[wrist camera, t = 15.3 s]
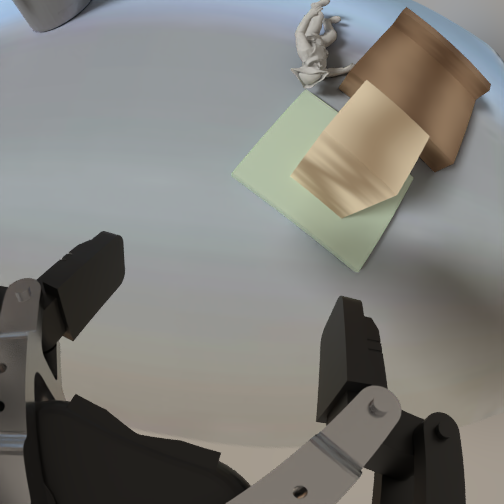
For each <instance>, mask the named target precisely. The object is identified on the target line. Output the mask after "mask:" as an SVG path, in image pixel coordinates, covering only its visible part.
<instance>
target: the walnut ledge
mask: <svg viewBox="0 0 504 504" xmlns="http://www.w3.org/2000/svg"><path fill="white" fill-rule="evenodd" d="M366 80H367V81H369V82H370V83H371V84H372V85H374V86H375V87H376V88H377V89H379V90H380V91H381V92H382V93H383V94H385V95H386V96H387V97H388V98H389V99H390V100H392V101H393V102H394V103H395V104H396V105H397V106H398V107H399V108H401V109H402V110H403V111H404V112H405V113H406V114H407V115H408V116H409V117H410V118H411V119H412V120H414V121H415V122H416V123H417V124H418V125H419V126H420V127H421V128H422V129H423V130H424V131H425V132H426V133H427V134H428V135H429V136H430V137H429V139H428V141H427V143H426V145H425V146H424V148H423V150H422V152H421V154H420V156H419V157H420V158H421V159H422V160H423V161H424V162H425V163H426V164H427V165H428V166H429V167H430V168H431V169H432V170H433V171H434V172H436V171H439V170H441V169H443V168H445V167H447V166H450V165H452V164H454V161H455V159H456V156H457V153H458V151H459V148H460V145H461V143H462V140H463V137H464V134H465V132H466V129H467V126H468V123H469V120H470V117H471V114H472V110H473V107H474V104H475V101H476V99H477V98H479V97H481V96H482V95H484V94H485V93H487V92H488V91H489V90H490V85H491V84H490V83H489V82H488V80H487V79H486V78H485V77H484V76H483V75H482V74H481V73H480V72H479V71H478V70H477V68H476V67H475V66H474V65H473V64H472V63H471V62H470V61H469V60H468V59H467V58H466V57H465V56H464V55H463V54H462V53H461V52H460V51H459V50H458V49H456V48H455V47H454V46H453V45H452V44H451V43H450V42H449V41H448V40H447V39H446V38H444V37H443V36H442V35H441V34H440V33H439V32H437V31H436V30H435V29H434V28H433V27H431V26H430V25H429V24H428V23H427V22H425V21H424V20H423V19H422V18H420V17H419V16H418V15H416V14H415V13H414V12H412V11H411V10H410V9H408V8H407V7H406V8H405V9H404V10H403V11H402V12H401V14H400V15H399V16H398V18H397V19H396V21H395V22H394V23H393V25H392V26H391V27H390V28H389V29H388V30H387V31H386V32H385V33H384V34H383V35H382V36H381V37H380V38H379V40H378V41H377V42H376V43H375V44H374V45H373V46H372V47H371V48H370V49H369V50H368V51H367V53H366V54H365V55H364V56H363V57H362V58H361V59H360V60H359V61H358V62H357V64H356V65H355V66H354V67H353V68H352V69H351V70H350V71H349V73H348V74H347V76H346V77H345V79H344V81H343V82H342V84H341V85H340V87H339V88H338V89H340V90H341V91H342V92H344V93H345V94H346V95H348V96H349V97H350V98H351V97H352V96H353V95H354V94H355V93H356V91H357V90H358V89H359V88H360V87H361V86H362V84H363V83H364V82H365V81H366Z"/></svg>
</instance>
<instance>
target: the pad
mask: <svg viewBox="0 0 504 504" xmlns="http://www.w3.org/2000/svg"><path fill="white" fill-rule="evenodd" d="M337 114H338V112H337V111H335V110H334V109H333V108H331V107H330V106H329V105H327V104H326V103H324V102H323V101H322V100H320V99H319V98H317V97H316V96H315V95H313V94H312V93H310V92H309V91H307V90H306V89H305V90H304V91H303V93H302V94H301V95H300V96H299V97H298V98H297V99H296V100H295V101H294V102H293V103H292V104H291V106H290V107H289V108H288V109H287V110H286V111H285V112H284V113H283V114H282V115H281V117H280V118H279V119H278V120H277V121H276V122H275V123H274V124H273V125H272V127H271V128H270V129H269V130H268V131H267V132H266V133H265V135H264V136H263V137H262V138H261V139H260V140H259V141H258V143H257V144H256V145H255V146H254V147H253V148H252V150H251V151H250V152H249V153H248V154H247V155H246V157H245V158H244V159H243V160H242V161H241V163H240V164H239V165H238V166H237V167H236V169H235V170H234V171H233V172H232V175H231V176H232V177H233V178H234V179H236V180H237V181H238V182H240V183H241V184H243V185H244V186H245V187H247V188H248V189H249V190H251V191H252V192H253V193H255V194H256V195H257V196H259V197H260V198H261V199H263V200H264V201H265V202H267V203H268V204H269V205H271V206H272V207H273V208H275V209H276V210H277V211H278V212H280V213H281V214H282V215H284V216H285V217H286V218H288V219H289V220H290V221H291V222H293V223H294V224H295V225H297V226H298V227H299V228H300V229H302V230H303V231H304V232H306V233H307V234H308V235H309V236H311V237H312V238H313V239H314V240H316V241H317V242H318V243H319V244H321V245H322V246H323V247H324V248H326V249H327V250H328V251H329V252H331V253H332V254H333V255H334V256H336V257H337V258H338V259H339V260H340V261H342V262H343V263H344V264H345V265H347V266H348V267H349V268H350V269H351V270H353V271H354V272H359V271H360V269H361V268H362V266H363V265H364V263H365V261H366V260H367V258H368V257H369V255H370V253H371V252H372V250H373V249H374V247H375V245H376V244H377V242H378V240H379V239H380V237H381V235H382V234H383V232H384V230H385V229H386V227H387V225H388V224H389V222H390V220H391V218H392V217H393V215H394V213H395V211H396V210H397V208H398V206H399V204H400V203H401V201H402V199H403V197H404V195H405V193H406V192H407V190H408V188H409V186H410V184H411V182H412V180H413V177H412V176H411V175H410V174H409V175H408V177H407V179H406V181H405V182H404V184H403V186H402V188H401V189H400V191H399V193H398V194H397V195H396V196H394V197H391V198H389V199H387V200H384V201H382V202H380V203H377V204H375V205H372V206H370V207H368V208H365V209H363V210H361V211H358V212H356V213H354V214H351V215H349V216H346V217H344V218H342V219H341V218H340V217H339V216H338V215H337V214H335V213H334V212H333V211H332V210H331V209H330V208H328V207H327V206H326V205H325V204H324V203H322V202H321V201H320V200H319V199H318V198H316V197H315V196H314V195H313V194H312V193H310V192H309V191H308V190H307V189H305V188H304V187H303V186H302V185H301V184H299V183H298V182H297V181H295V180H294V179H293V178H292V177H290V175H291V174H292V173H293V171H294V170H295V169H296V167H297V166H298V164H299V163H300V162H301V160H302V159H303V158H304V156H305V155H306V153H307V152H308V151H309V149H310V148H311V147H312V145H313V144H314V143H315V141H316V140H317V138H318V137H319V136H320V134H321V133H322V132H323V130H324V129H325V128H326V127H327V126H328V124H329V123H330V122H331V121H332V120H333V118H334V117H335V116H336V115H337Z"/></svg>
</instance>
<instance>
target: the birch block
mask: <svg viewBox="0 0 504 504" xmlns="http://www.w3.org/2000/svg"><path fill="white" fill-rule="evenodd" d="M429 137H430V136H429V135H428V134H427V133H426V132H425V131H424V130H423V129H422V128H421V127H420V126H419V125H418V124H417V123H416V122H415V121H414V120H412V119H411V118H410V117H409V116H408V115H407V114H406V113H405V112H404V111H403V110H402V109H401V108H399V107H398V106H397V105H396V104H395V103H394V102H393V101H392V100H390V99H389V98H388V97H387V96H386V95H385V94H383V93H382V92H381V91H380V90H379V89H377V88H376V87H375V86H374V85H372V84H371V83H370V82H369V81H367V80H366V81H365V82H364V83H363V84H362V86H361V87H360V88H359V89H358V90H357V91H356V93H355V94H354V95H353V96H352V97H351V98H350V100H349V101H348V102H347V103H346V104H345V105H344V107H343V108H342V109H341V110H340V111H339V113H338V114H337V115H336V116H335V117H334V118H333V120H332V121H331V122H330V123H329V124H328V126H327V127H326V128H325V129H324V130H323V132H322V133H321V134H320V136H319V137H318V138H317V140H316V141H315V143H314V144H313V145H312V147H311V148H310V149H309V151H308V152H307V153H306V155H305V156H304V158H303V159H302V160H301V162H300V163H299V164H298V166H297V167H296V169H295V170H294V171H293V173H292V174H291V175H290V177H292V178H293V179H294V180H295V181H297V182H298V183H299V184H301V185H302V186H303V187H304V188H305V189H307V190H308V191H309V192H310V193H312V194H313V195H314V196H315V197H316V198H318V199H319V200H320V201H321V202H322V203H324V204H325V205H326V206H327V207H328V208H330V209H331V210H332V211H333V212H334V213H335V214H337V215H338V216H339V217H340V218H341V219H342V218H344V217H346V216H349V215H351V214H354V213H356V212H358V211H361V210H363V209H365V208H368V207H370V206H372V205H375V204H377V203H380V202H382V201H384V200H387V199H389V198H391V197H394V196H396V195H397V194H398V193H399V191H400V189H401V188H402V186H403V184H404V182H405V181H406V179H407V177H408V175H409V174H410V172H411V170H412V168H413V167H414V165H415V163H416V161H417V159H418V158H419V156H420V154H421V152H422V150H423V148H424V146H425V145H426V143H427V141H428V139H429Z"/></svg>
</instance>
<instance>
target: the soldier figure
mask: <svg viewBox="0 0 504 504" xmlns="http://www.w3.org/2000/svg"><path fill="white" fill-rule="evenodd" d="M329 2H330V0H320V1H319V2H316V3H312V4H311V7H312V8H311V9H310V11H309V12H308V13H307V15H306V16H305V15H304V17H303V19H302V21H301V22H300V24H299V26H298V28H297V30H296V32H295V37H296V48H297V52H298V55H299V57H300V58H301V60H302V62H303V63H302V65H303V66H302V67H300V68H291V71H292V72H293V73H294V74H295V75H296V76H297V78H298V79H299V80H300V82H301V83H302V85H303V87H304V88H312V87H313V86H314V85H315V84H316V83H318V82H320V81H322V80H323V79H324V78H325V77H332V76H337V75H341V74H344V73H348V72H349V71H350V70H351V69H352V68H353V67H354V66H355V64H354V65H353V63H352V64H351V65H349V66H347V67H345V68H342V67H341V68H327V69H326V66H327V64H326V62H327V61H326V58H328V51H327V50H326V49H325V48H326V47H328V46H329V45H331V44H332V43H333V42H334V41H335V40H336V38H337V32H336V31H335V30H334V28H333V27H332V24H334V23H338V22H339V21H341V18H340V17H338V16H334V17H332V18H329V19H326V18H324V15H323V13H322V12H321V10H322V9H323V8H321V7H323V6H326V5H327V4H329ZM323 18H324V19H323ZM322 23H323V26H324V30H325V33H324V35H319V33H320V30H321V28H322ZM352 65H353V66H352Z"/></svg>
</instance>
